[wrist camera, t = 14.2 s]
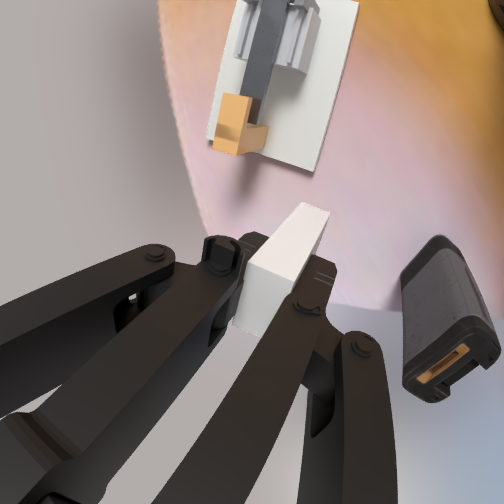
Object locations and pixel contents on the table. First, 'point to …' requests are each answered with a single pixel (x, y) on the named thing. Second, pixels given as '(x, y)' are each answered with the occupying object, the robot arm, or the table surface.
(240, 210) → the table surface
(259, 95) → the strap
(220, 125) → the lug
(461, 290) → the electronic device
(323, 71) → the board
